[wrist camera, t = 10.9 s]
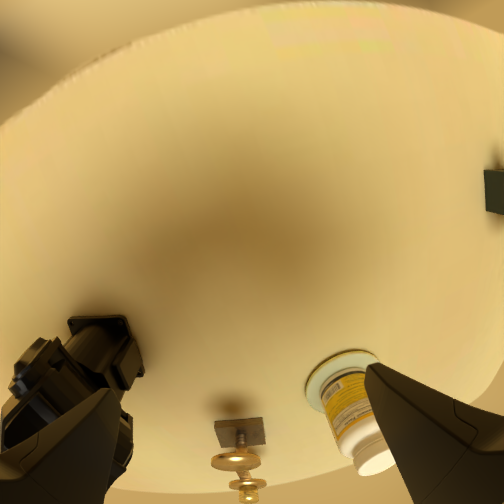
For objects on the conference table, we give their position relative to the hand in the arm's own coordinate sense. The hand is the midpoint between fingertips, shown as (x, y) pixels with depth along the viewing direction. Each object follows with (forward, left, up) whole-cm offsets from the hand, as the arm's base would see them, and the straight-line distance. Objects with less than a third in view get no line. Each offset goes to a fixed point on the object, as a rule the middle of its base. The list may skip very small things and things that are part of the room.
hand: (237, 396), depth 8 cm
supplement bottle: (+9, -13, -12) cm, 20 cm away
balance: (-2, -18, -13) cm, 23 cm away
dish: (+9, -13, -13) cm, 20 cm away
